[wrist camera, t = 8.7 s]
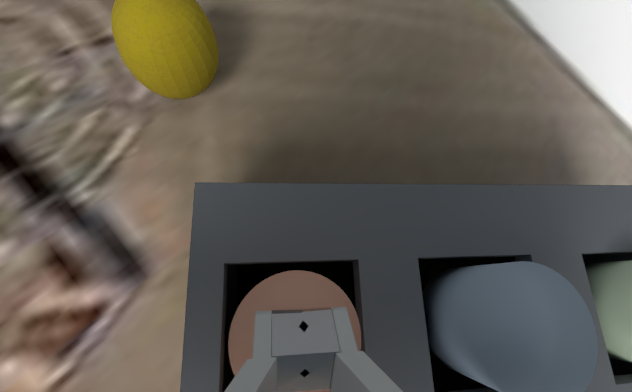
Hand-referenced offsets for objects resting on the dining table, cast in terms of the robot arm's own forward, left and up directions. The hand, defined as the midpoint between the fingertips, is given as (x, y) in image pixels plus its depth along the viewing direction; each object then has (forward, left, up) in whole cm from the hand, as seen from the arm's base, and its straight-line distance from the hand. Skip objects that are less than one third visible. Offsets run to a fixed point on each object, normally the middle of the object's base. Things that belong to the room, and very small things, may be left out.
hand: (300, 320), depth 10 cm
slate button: (+8, -1, -3) cm, 9 cm away
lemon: (-7, +15, -10) cm, 20 cm away
